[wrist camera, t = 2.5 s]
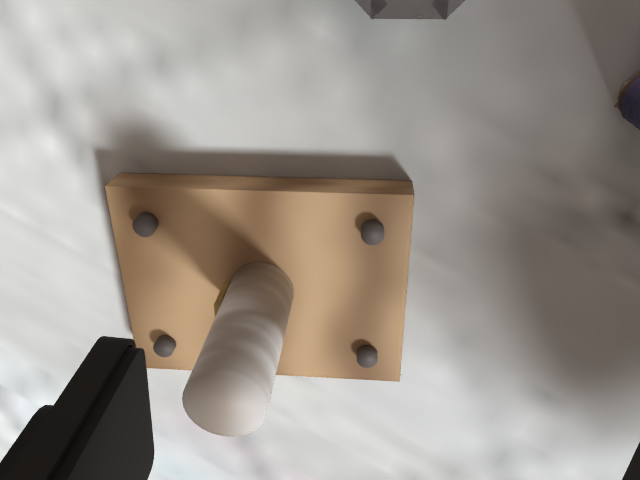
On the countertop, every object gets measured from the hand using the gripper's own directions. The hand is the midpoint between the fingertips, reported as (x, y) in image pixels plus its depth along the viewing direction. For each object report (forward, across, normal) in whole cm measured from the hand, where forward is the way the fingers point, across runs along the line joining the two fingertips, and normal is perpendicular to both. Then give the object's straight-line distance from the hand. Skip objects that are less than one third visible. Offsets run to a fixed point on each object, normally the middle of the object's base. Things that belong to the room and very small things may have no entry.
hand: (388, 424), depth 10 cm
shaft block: (+21, +5, +10) cm, 23 cm away
